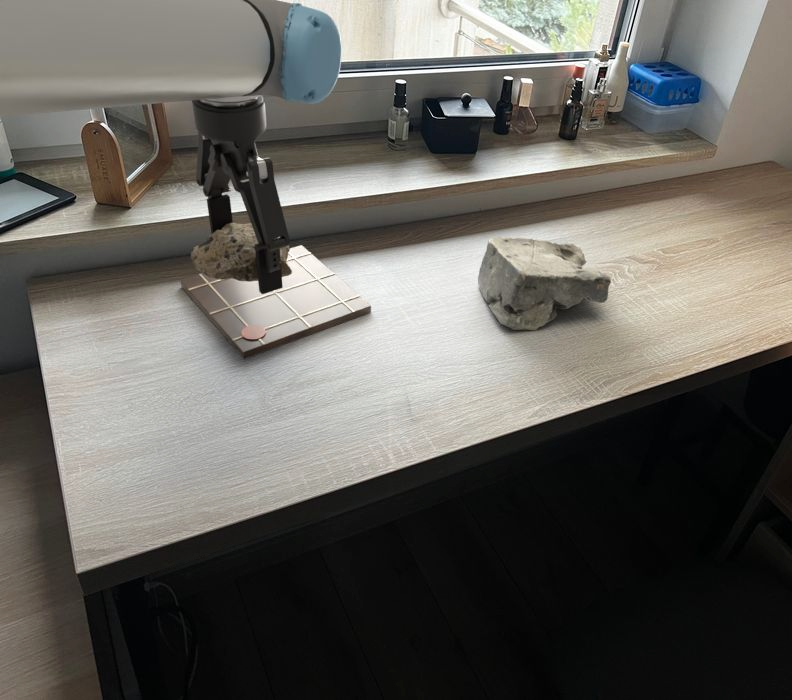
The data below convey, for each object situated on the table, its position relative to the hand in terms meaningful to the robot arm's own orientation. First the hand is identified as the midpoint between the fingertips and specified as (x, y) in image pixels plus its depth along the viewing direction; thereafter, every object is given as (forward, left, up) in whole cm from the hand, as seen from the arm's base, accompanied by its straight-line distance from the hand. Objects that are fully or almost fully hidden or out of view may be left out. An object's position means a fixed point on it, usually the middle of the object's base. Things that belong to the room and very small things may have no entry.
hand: (246, 265), depth 91 cm
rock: (0, 0, 0) cm, 1 cm away
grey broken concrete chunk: (+41, -14, -12) cm, 45 cm away
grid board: (+7, +7, -12) cm, 16 cm away
